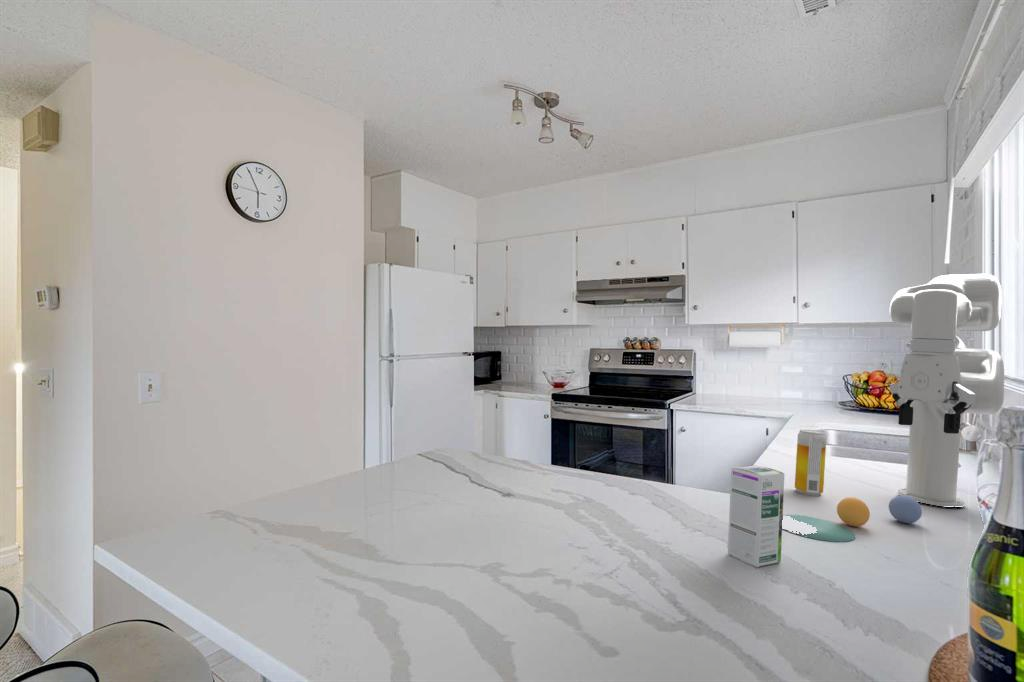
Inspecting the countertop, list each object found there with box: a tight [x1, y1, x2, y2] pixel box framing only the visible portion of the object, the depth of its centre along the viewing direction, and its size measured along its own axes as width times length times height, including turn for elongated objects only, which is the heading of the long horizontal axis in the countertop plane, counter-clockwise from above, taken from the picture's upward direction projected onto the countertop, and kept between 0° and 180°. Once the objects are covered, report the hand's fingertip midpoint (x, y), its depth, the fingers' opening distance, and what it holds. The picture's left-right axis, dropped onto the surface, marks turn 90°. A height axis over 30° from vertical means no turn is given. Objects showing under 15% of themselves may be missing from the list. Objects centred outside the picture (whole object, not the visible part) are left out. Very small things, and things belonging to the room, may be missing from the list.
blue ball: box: [888, 495, 923, 524], centre depth 108 cm, size 6×6×6 cm
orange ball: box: [836, 496, 871, 527], centre depth 104 cm, size 6×6×6 cm
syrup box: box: [727, 464, 785, 568], centre depth 85 cm, size 6×6×14 cm
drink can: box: [794, 429, 827, 497], centre depth 128 cm, size 6×6×15 cm
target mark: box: [785, 514, 857, 543], centre depth 102 cm, size 14×14×1 cm
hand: (927, 428), depth 111 cm, fingers open, 9 cm apart
